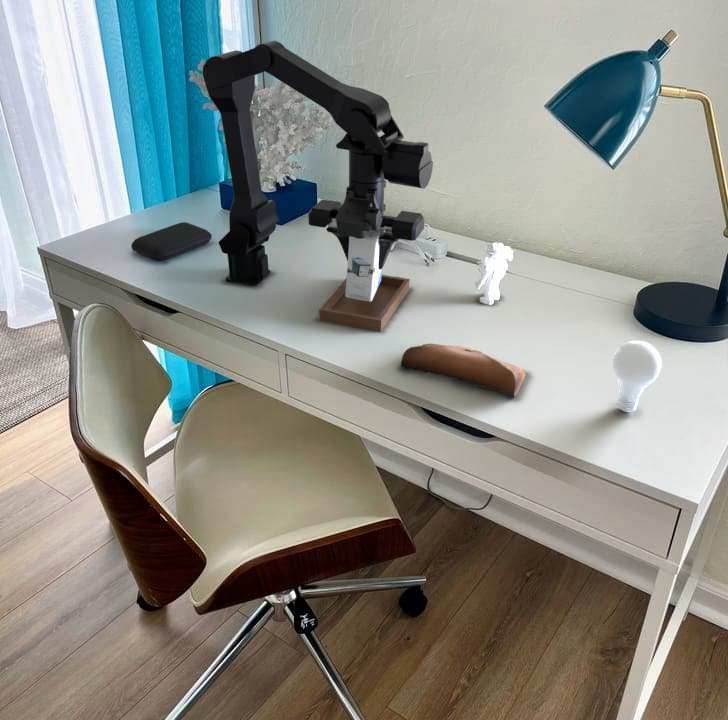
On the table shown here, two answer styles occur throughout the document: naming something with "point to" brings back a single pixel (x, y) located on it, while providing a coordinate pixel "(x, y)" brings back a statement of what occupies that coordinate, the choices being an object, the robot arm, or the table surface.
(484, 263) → the flower shoulder figurine
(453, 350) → the sunglasses case
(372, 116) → the robot arm
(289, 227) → the table surface
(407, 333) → the table surface
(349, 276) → the ink box
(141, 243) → the carrying case
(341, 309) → the desk tray
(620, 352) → the lightbulb
